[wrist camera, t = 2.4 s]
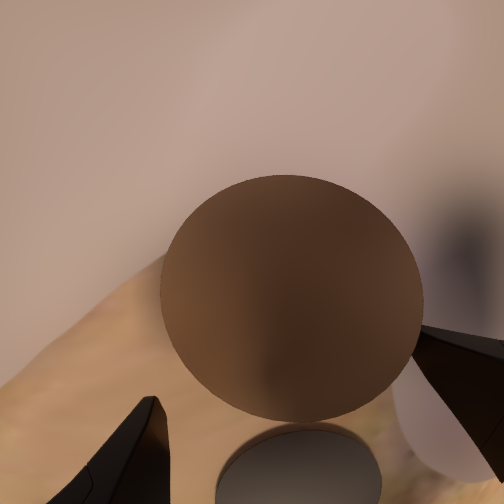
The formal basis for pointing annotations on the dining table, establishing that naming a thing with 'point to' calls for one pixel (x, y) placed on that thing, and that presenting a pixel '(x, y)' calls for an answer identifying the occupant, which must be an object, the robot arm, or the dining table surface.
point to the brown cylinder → (291, 298)
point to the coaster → (302, 472)
